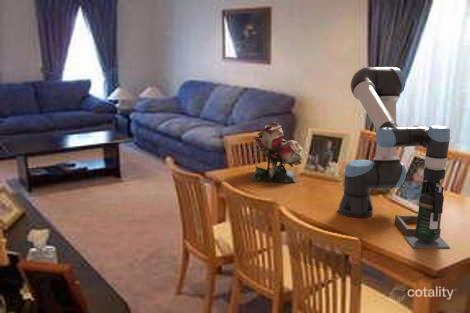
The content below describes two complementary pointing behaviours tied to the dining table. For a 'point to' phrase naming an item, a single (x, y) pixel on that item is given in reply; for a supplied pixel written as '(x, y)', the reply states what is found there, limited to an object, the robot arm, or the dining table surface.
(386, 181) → the robot arm
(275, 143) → the rose bouquet
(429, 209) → the coffee jar
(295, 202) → the dining table surface
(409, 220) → the holder frame
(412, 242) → the slate mat
